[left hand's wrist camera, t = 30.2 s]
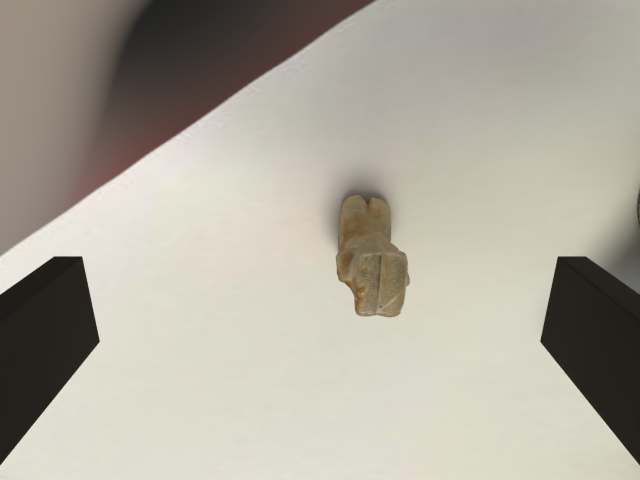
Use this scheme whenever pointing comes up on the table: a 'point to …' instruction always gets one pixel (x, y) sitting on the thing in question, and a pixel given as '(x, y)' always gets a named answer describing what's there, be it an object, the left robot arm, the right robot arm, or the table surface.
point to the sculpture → (371, 258)
